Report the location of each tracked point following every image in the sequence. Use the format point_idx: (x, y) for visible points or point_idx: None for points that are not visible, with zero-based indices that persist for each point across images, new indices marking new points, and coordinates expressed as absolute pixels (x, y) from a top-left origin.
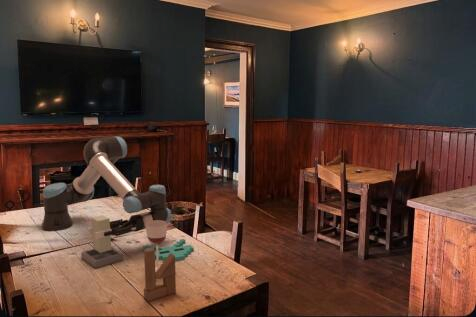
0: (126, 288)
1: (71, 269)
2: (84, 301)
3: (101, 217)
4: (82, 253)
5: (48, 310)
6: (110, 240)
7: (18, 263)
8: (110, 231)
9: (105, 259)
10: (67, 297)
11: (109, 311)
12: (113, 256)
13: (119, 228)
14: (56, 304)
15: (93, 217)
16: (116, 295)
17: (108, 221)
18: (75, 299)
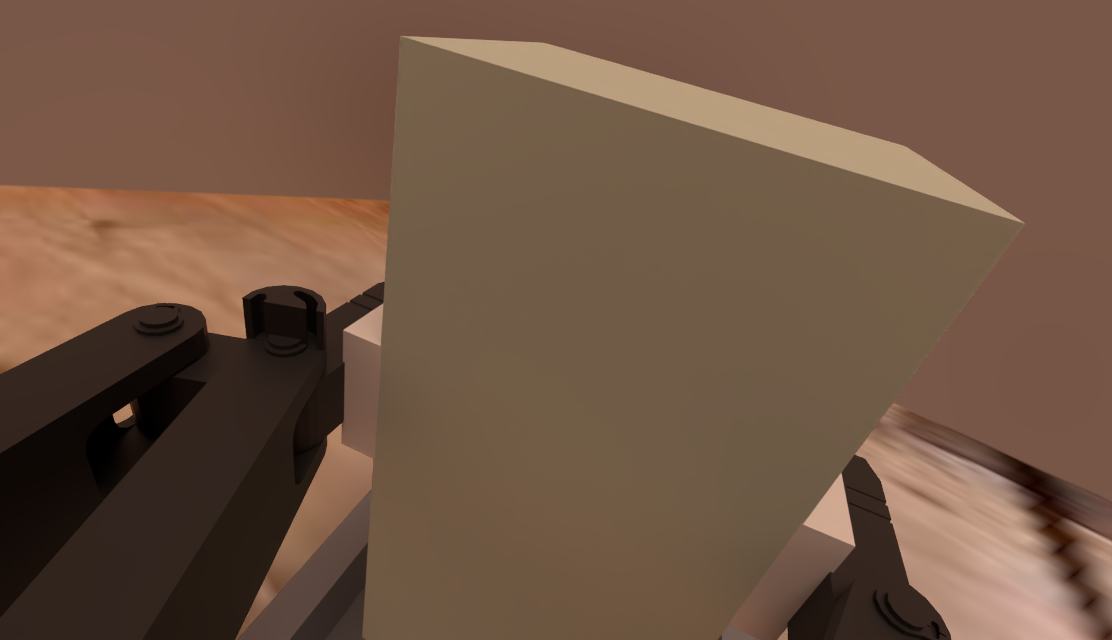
0: (3, 303)
1: None
2: (257, 230)
3: (725, 114)
4: None
5: (374, 204)
6: (373, 530)
7: (932, 429)
8: (336, 337)
9: (357, 509)
10: (361, 246)
11: (89, 191)
12: (281, 591)
13: (109, 527)
14: (372, 221)
15: (878, 142)
16: (76, 257)
17: (416, 131)
18: (312, 238)
